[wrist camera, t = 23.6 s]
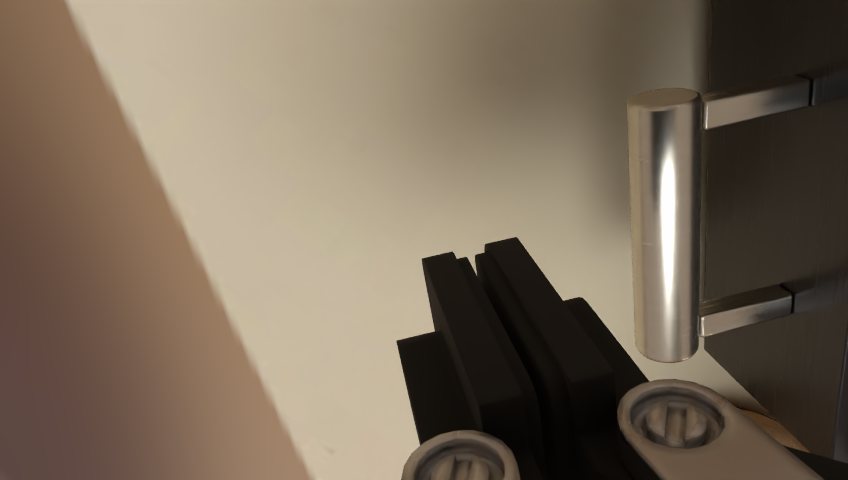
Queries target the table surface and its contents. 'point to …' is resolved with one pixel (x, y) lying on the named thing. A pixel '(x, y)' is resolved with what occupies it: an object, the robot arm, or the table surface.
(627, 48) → the table surface
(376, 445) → the table surface
